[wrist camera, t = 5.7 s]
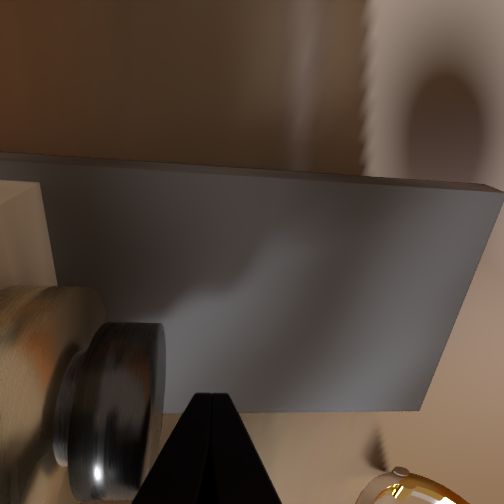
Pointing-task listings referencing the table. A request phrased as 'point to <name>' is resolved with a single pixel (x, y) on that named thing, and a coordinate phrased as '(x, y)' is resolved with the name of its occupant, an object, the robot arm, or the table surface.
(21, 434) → the shaft
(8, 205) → the block
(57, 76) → the table surface
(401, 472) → the ring
